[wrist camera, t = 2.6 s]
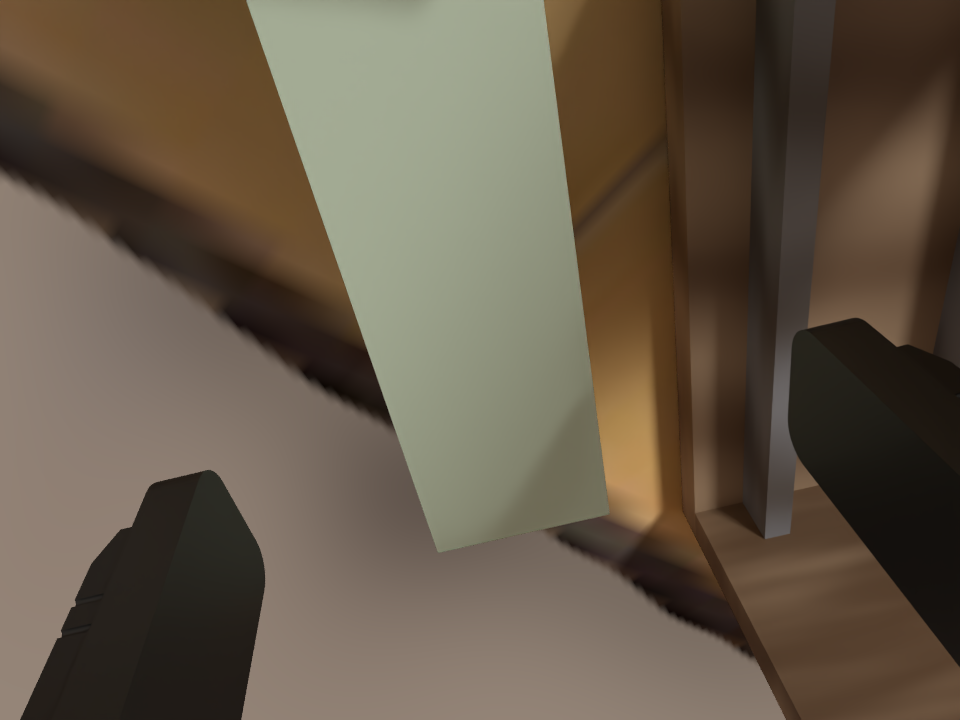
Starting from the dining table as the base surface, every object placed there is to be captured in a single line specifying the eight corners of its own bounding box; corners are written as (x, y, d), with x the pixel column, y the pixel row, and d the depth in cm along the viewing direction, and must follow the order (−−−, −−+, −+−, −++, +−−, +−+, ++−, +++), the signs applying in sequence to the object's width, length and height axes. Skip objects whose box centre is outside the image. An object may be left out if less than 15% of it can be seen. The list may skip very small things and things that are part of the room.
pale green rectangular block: (304, -68, 17) (229, -48, 9) (458, -104, 17) (528, -119, 9) (419, 330, 24) (437, 553, 16) (531, 304, 24) (609, 513, 16)
